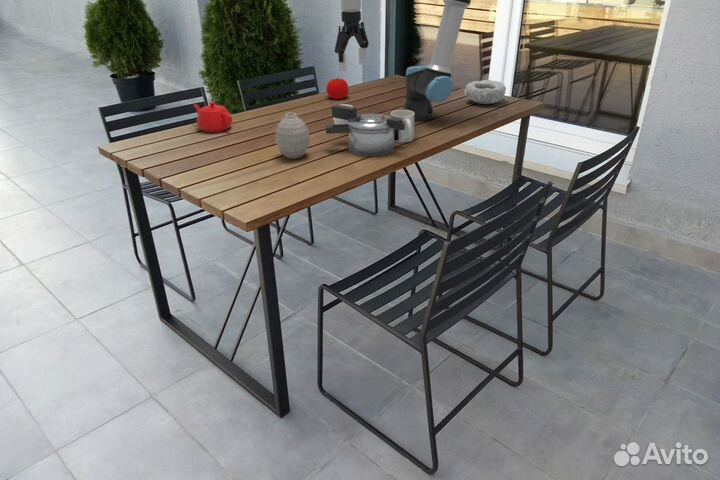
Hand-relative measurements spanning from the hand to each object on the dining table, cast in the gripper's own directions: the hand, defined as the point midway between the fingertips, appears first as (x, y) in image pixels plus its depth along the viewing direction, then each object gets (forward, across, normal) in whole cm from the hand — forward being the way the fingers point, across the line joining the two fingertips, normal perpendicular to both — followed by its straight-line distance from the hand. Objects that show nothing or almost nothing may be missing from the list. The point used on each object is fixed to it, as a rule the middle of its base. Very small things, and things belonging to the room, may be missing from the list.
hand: (352, 67), depth 220 cm
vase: (+29, +33, -6) cm, 44 cm away
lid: (+18, +10, +13) cm, 24 cm away
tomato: (+29, -48, -45) cm, 72 cm away
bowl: (+29, -78, +25) cm, 87 cm away
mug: (+29, -6, +20) cm, 36 cm away
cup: (+29, -6, -11) cm, 31 cm away
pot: (+29, +11, +13) cm, 33 cm away
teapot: (+29, +24, -60) cm, 71 cm away
